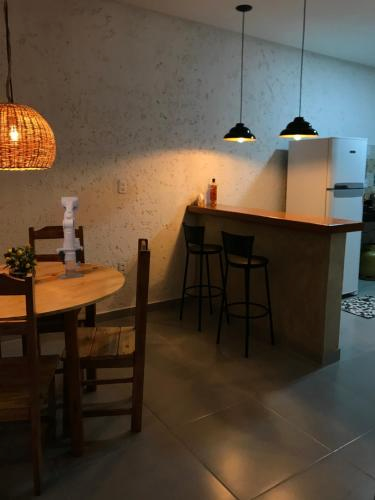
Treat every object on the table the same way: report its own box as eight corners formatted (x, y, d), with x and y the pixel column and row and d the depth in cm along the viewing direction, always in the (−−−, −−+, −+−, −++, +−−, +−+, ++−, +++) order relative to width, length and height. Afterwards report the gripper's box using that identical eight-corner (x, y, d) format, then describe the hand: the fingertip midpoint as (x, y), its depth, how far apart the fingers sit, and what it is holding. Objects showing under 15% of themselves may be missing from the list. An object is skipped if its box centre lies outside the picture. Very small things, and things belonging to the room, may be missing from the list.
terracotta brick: (65, 268, 234) (65, 261, 233) (73, 267, 236) (73, 260, 235) (68, 269, 230) (67, 262, 229) (76, 268, 232) (75, 261, 232)
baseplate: (58, 276, 234) (58, 275, 233) (79, 273, 240) (79, 272, 240) (62, 279, 228) (62, 278, 228) (83, 276, 235) (83, 275, 234)
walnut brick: (65, 274, 234) (65, 268, 234) (73, 273, 237) (73, 267, 236) (68, 276, 231) (68, 269, 230) (76, 275, 233) (76, 268, 233)
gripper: (58, 242, 223) (60, 266, 226) (84, 240, 231) (85, 263, 234) (55, 240, 229) (56, 263, 231) (80, 238, 237) (80, 261, 239)
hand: (70, 263), depth 233 cm, fingers open, 7 cm apart
